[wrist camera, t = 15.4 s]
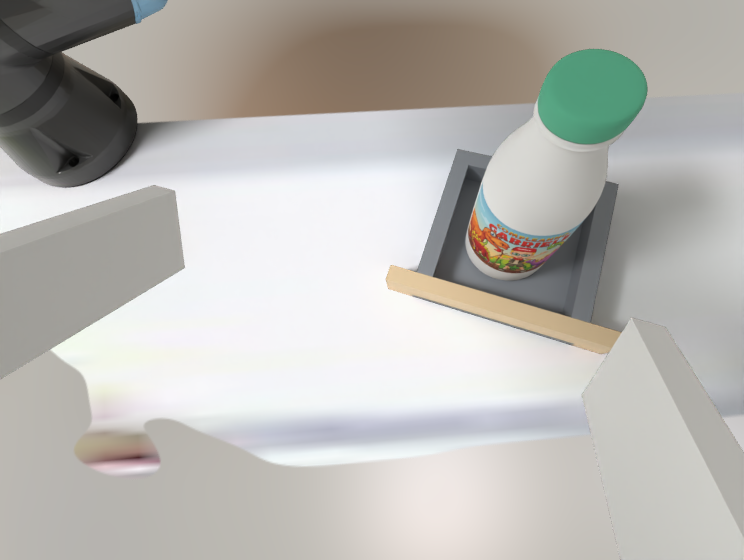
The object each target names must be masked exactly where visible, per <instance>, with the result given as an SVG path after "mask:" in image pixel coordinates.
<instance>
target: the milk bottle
mask: <svg viewBox="0 0 744 560" xmlns="http://www.w3.org/2000/svg"><path fill="white" fill-rule="evenodd" d="M646 96H647V82H646V79H645V76H644V74H643V72H642V71H641V70H640V68H639V67H638V66H637V65H636V64H635V63H634V62H633V61H631V60H630V59H628V58H627V57H625V56H623V55H621V54H618V53H616V52H613V51H609V50H602V49H587V50H581V51H577V52H574V53H571V54H569V55H567V56H565V57H563V58H562V59H561V60H559V61H558V62H557V63H556V64H555V65H554V66H553V67H552V69H551V70H550V71H549V73H548V74H547V77H546V79H545V81H544V83H543V85H542V88H541V91H540V94H539V97H538V99H537V101H536V103H535V106H534V113H533V114H534V116H533V117H532V118H531V119H530V120H529V121H528V122H527V123H525V124H524V125H522V126H521V127H519V128H518V129H517V130H515V131H514V132H513V133H512V134H510V135H509V136H508V137H507V138H506V139H505V140H504V141H503V142H502V144H501V145H500V146H499V148H498V149H497V150H496V152H495V153H494V155H493V157H492V158H491V160H490V162H489V164H488V166H487V169H486V171H485V174H484V177H483V179H482V182H481V186H480V189H479V192H478V195H477V198H476V201H475V205H474V208H473V212H472V215H471V218H470V222H469V225H468V229H467V233H466V240H465V244H466V250H467V253H468V256H469V258H470V260H471V261H472V263H473V264H474V265H475V266H476V267H477V268H478V269H479V270H480V271H481V272H483V273H484V274H486V275H488V276H490V277H492V278H495V279H499V280H506V281H512V280H519V279H523V278H525V277H528V276H530V275H531V274H533V273H534V272H536V271H537V270H538V269H539V268H540V267H541V266H542V265H543V264H544V263H545V262H546V261H547V260H548V259H549V258H550V257H551V256H552V255H553V254H554V253H555V252H556V251H557V250H558V249H559V247H560V246H561V245H562V244H563V243H564V242H565V241H566V240H567V239H568V238H569V237H570V236H571V234H572V233H573V232H574V231H575V230H576V229H577V228H578V227H579V226H580V225H581V223H582V222H583V221H584V220H585V218H586V217H587V216H588V215H589V214H590V212H591V211H592V210H593V208H594V206H595V205H596V203H597V201H598V200H599V198H600V196H601V193H602V191H603V188H604V185H605V181H606V177H607V168H608V148H609V145H611V144H613V143H614V142H615V141H616V140H618V139H619V138H620V136H621V135H622V134H623V132H624V130H625V129H626V128H627V127H628V126H629V125H630V124H631V122H632V121H633V120H634V119H635V117H636V116H637V114H638V113H639V111H640V110H641V109H642V107H643V105H644V102H645V99H646Z"/></svg>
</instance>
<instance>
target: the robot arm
mask: <svg viewBox="0 0 744 560" xmlns="http://www.w3.org/2000/svg"><path fill="white" fill-rule="evenodd" d="M166 3H167V0H0V147H1V148H2V149H3V150H4V151H5V152H6V153H7V154H8V155H9V157H10V158H11V159H12V160H13V161H14V162H15V163H16V164H17V165H18V166H19V167H20V168H21V169H23V170H24V171H25V172H27V173H28V174H30V175H32V176H33V177H35V178H37V179H39V180H40V181H42V182H44V183H46V184H49V185H52V186H57V187H71V186H77V185H81V184H84V183H87V182H90V181H92V180H94V179H96V178H98V177H100V176H101V175H103V174H104V173H106V172H107V171H109V170H110V169H111V168H112V167H113V166H115V165H116V164H117V163H118V162H119V160H120V159H121V158H122V157H123V156H124V155H125V153H126V152H127V150H128V149H129V147H130V145H131V143H132V141H133V139H134V136H135V133H136V129H137V113H136V109H135V106H134V104H133V103H132V101H131V100H130V99H129V98H128V96H127V95H125V93H124V92H122V90H121V89H120V88H119V87H118V86H116V84H114V83H113V82H112V81H110V80H109V79H107V78H105V77H104V76H102V75H100V74H98V73H96V72H95V71H93V70H91V69H89V68H88V67H86V66H84V65H83V64H80V63H79V62H77V61H76V60H74V59H72V58H70V57H69V56H67V55H65V54H64V53H62V51H64V50H67V49H69V48H72V47H75V46H78V45H80V44H83V43H85V42H88V41H91V40H93V39H96V38H98V37H101V36H104V35H106V34H109V33H112V32H114V31H117V30H120V29H122V28H125V27H127V26H130V25H133V24H135V23H136V24H137V23H140V22H141V20H142V19H144V18H145V17H148V16H149V15H151V14H154V13H155V12H157V11H159V10H161V9H163V7H164V6H165V4H166ZM184 268H185V265H184V258H183V250H182V242H181V234H180V226H179V218H178V211H177V203H176V195H175V191H174V190H170V189H167V188H163V187H159V186H156V185H153V186H150V187H146V188H143V189H140V190H137V191H134V192H131V193H128V194H124V195H121V196H118V197H115V198H112V199H109V200H106V201H102V202H99V203H96V204H93V205H90V206H87V207H84V208H80V209H77V210H74V211H71V212H68V213H65V214H62V215H58V216H55V217H52V218H49V219H46V220H43V221H40V222H36V223H33V224H30V225H27V226H24V227H21V228H17V229H14V230H11V231H8V232H5V233H2V234H0V379H2V378H4V377H5V376H7V375H9V374H10V373H12V372H14V371H15V370H17V369H19V368H20V367H22V366H23V365H25V364H27V363H29V362H30V361H32V360H33V359H35V358H37V357H38V356H40V355H42V354H43V353H45V352H47V351H48V350H50V349H52V348H53V347H55V346H57V345H58V344H60V343H62V342H63V341H65V340H66V339H68V338H70V337H71V336H73V335H75V334H76V333H78V332H80V331H81V330H83V329H85V328H86V327H88V326H90V325H91V324H93V323H95V322H96V321H98V320H100V319H101V318H103V317H104V316H106V315H108V314H109V313H111V312H113V311H114V310H116V309H118V308H119V307H121V306H123V305H124V304H126V303H128V302H129V301H131V300H133V299H134V298H136V297H138V296H139V295H141V294H142V293H144V292H146V291H147V290H149V289H151V288H152V287H154V286H156V285H157V284H159V283H161V282H162V281H164V280H166V279H167V278H169V277H171V276H172V275H174V274H175V273H177V272H179V271H180V270H182V269H184ZM582 398H583V403H584V407H585V411H586V415H587V420H588V424H589V428H590V433H591V437H592V441H593V445H594V450H595V454H596V458H597V462H598V467H599V471H600V475H601V480H602V484H603V488H604V492H605V497H606V501H607V505H608V510H609V514H610V518H611V522H612V527H613V531H614V535H615V540H616V544H617V548H618V552H619V557H620V560H744V452H743V450H742V449H741V447H740V445H739V444H738V442H737V441H736V439H735V437H734V436H733V434H732V433H731V431H730V429H729V428H728V426H727V425H726V423H725V421H724V420H723V418H722V417H721V415H720V413H719V412H718V410H717V409H716V407H715V405H714V404H713V402H712V401H711V399H710V397H709V396H708V394H707V393H706V391H705V389H704V388H703V386H702V385H701V383H700V381H699V380H698V378H697V377H696V375H695V373H694V372H693V370H692V369H691V367H690V365H689V364H688V362H687V361H686V359H685V357H684V356H683V354H682V353H681V351H680V350H679V348H678V346H677V345H676V343H675V342H674V340H673V338H672V337H671V335H670V334H669V332H668V330H667V329H666V327H663V326H660V325H656V324H653V323H649V322H645V321H642V320H638V319H635V318H631V319H630V320H629V322H628V323H627V325H626V327H625V328H624V330H623V331H622V333H621V334H620V336H619V338H618V339H617V341H616V342H615V344H614V345H613V347H612V349H611V350H610V352H609V353H608V355H607V356H606V358H605V359H604V361H603V363H602V364H601V366H600V367H599V369H598V370H597V372H596V374H595V375H594V377H593V378H592V380H591V381H590V383H589V385H588V386H587V388H586V389H585V391H584V392H583V394H582Z"/></svg>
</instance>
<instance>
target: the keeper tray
mask: <svg viewBox="0 0 744 560" xmlns="http://www.w3.org/2000/svg"><path fill="white" fill-rule="evenodd" d="M491 158H492V156H487V155H483V154H478V153H474V152H469V151H464V150H460V149H457V152H456V155H455V158H454V161H453V164H452V167H451V170H450V173H449V176H448V179H447V182H446V185H445V188H444V191H443V194H442V198H441V201H440V204H439V207H438V210H437V213H436V216H435V219H434V222H433V225H432V228H431V231H430V234H429V237H428V240H427V243H426V246H425V249H424V252H423V255H422V258H421V261H420V264H419V267H418V270H417V272H414V271H411V270H407V269H404V268H400V267H397V266H394V265H391V266H390V269H389V271H388V274H387V277H386V282H387V286H388V289H390V290H394V291H397V292H400V293H403V294H407V295H410V296H413V297H416V298H420V299H423V300H426V301H429V302H433V303H436V304H439V305H443V306H446V307H449V308H452V309H456V310H459V311H462V312H465V313H469V314H472V315H475V316H478V317H482V318H485V319H488V320H491V321H495V322H498V323H501V324H504V325H508V326H511V327H514V328H517V329H521V330H524V331H527V332H530V333H534V334H537V335H540V336H543V337H547V338H550V339H553V340H556V341H560V342H563V343H566V344H570V345H573V346H576V347H579V348H583V349H586V350H589V351H592V352H596V353H599V354H603V353H608V352H610V350H611V349H612V347H613V345H614V344H615V342H616V341H617V339H618V338H619V336H620V334H621V333H622V332H619V331H615V330H612V329H609V328H605V327H602V326H598V325H595V324H592V323H590V322H591V317H592V312H593V308H594V303H595V298H596V293H597V288H598V283H599V278H600V273H601V268H602V263H603V258H604V253H605V249H606V244H607V239H608V234H609V229H610V224H611V219H612V214H613V209H614V204H615V199H616V194H617V190H618V185H619V184H615V183H611V182H606V181H605V185H604V188H603V191H602V193H601V196H600V198H599V200H598V201H597V203H596V205H595V206H594V208H593V210H592V211H591V212H590V214H589V215H588V216H587V217H586V218H585V220H584V221H583V222H582V223H581V225H580V226H579V227H578V228H577V229H576V230H575V231H574V232H573V233H572V234H571V236H570V237H569V238H568V239H567V240H566V241H565V242H564V243H563V244H562V245H561V246H560V247H559V249H558V250H557V251H556V252H555V253H554V254H553V255H552V256H551V257H550V258H549V259H548V260H547V261H546V262H545V263H544V264H543V265H542V266H541V267H540V268H539V269H538V270H537V271H536V272H534V273H533V274H531V275H530V276H528V277H525V278H523V279H519V280H512V281H506V280H499V279H495V278H492V277H490V276H488V275H486V274H484V273H483V272H481V271H480V270H479V269H478V268H477V267H476V266H475V265H474V264H473V263H472V261H471V260H470V258H469V256H468V253H467V250H466V244H465V240H466V233H467V229H468V225H469V222H470V218H471V215H472V212H473V208H474V205H475V201H476V198H477V195H478V192H479V189H480V186H481V182H482V179H483V177H484V174H485V171H486V169H487V166H488V164H489V162H490V160H491Z"/></svg>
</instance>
